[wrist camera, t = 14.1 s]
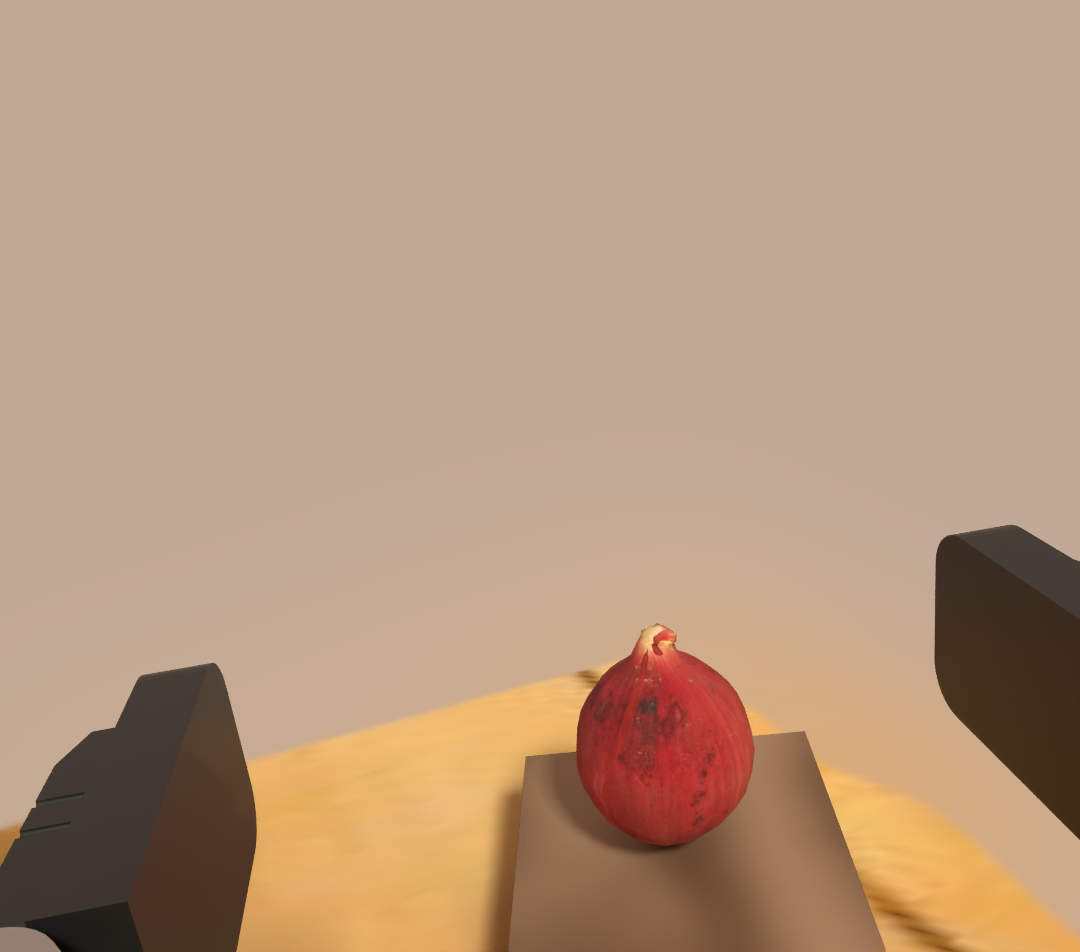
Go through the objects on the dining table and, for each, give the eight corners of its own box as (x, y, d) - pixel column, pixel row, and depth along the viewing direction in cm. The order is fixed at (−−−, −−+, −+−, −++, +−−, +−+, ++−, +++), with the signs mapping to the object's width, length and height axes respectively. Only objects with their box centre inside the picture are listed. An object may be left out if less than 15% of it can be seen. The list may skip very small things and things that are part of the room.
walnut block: (528, 1102, 31) (505, 976, 29) (542, 858, 41) (525, 756, 40) (889, 1080, 30) (885, 949, 28) (810, 836, 40) (804, 731, 39)
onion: (741, 917, 30) (722, 687, 28) (565, 885, 33) (533, 670, 30) (773, 798, 35) (759, 594, 33) (619, 778, 38) (595, 586, 35)
